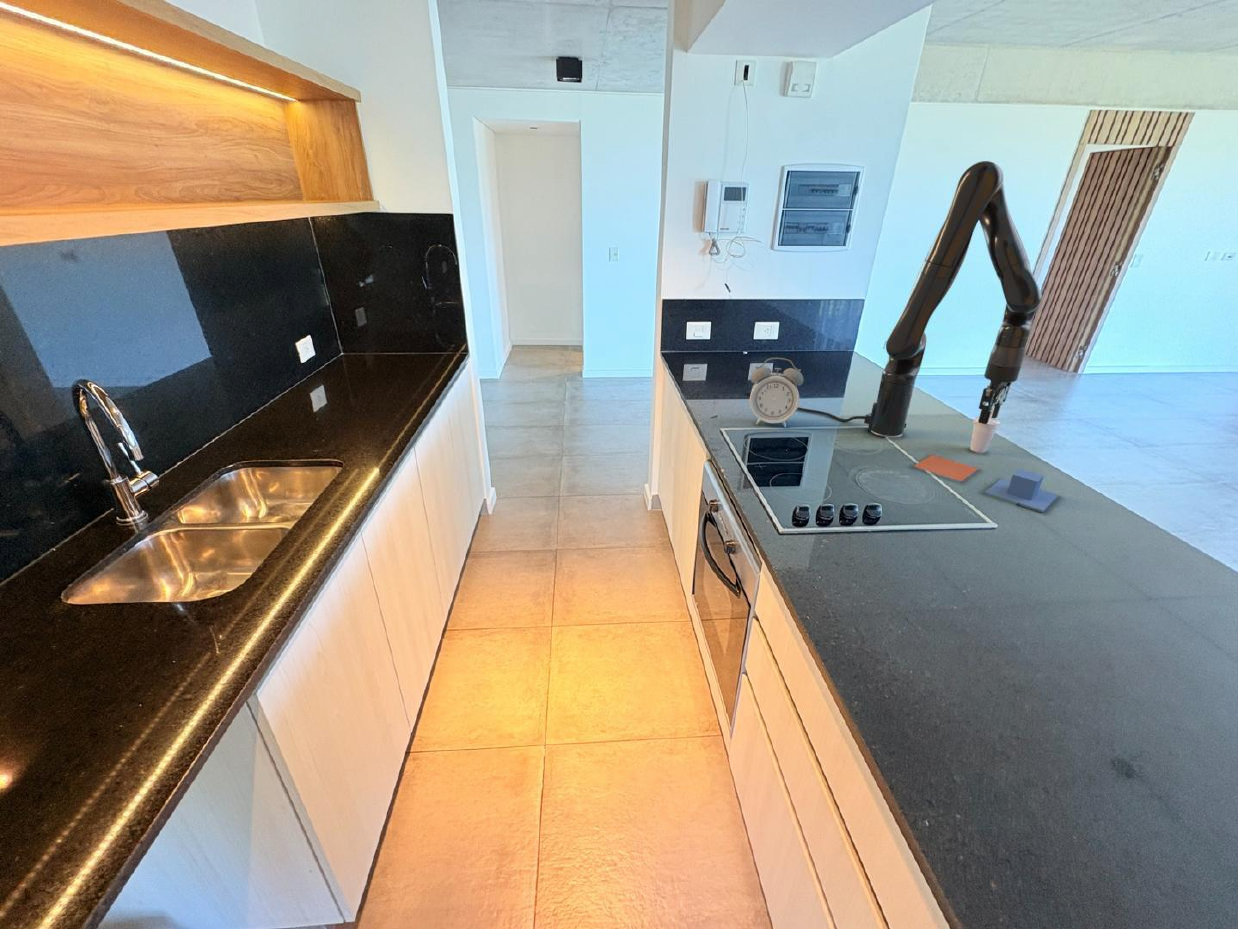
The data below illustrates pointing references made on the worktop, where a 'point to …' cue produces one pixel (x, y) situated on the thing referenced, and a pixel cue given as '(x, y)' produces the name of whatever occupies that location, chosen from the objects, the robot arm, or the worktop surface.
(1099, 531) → the worktop surface
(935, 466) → the terracotta mat
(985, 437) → the smoothie
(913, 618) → the worktop surface
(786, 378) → the alarm clock
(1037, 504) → the blue mat
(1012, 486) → the blue block
